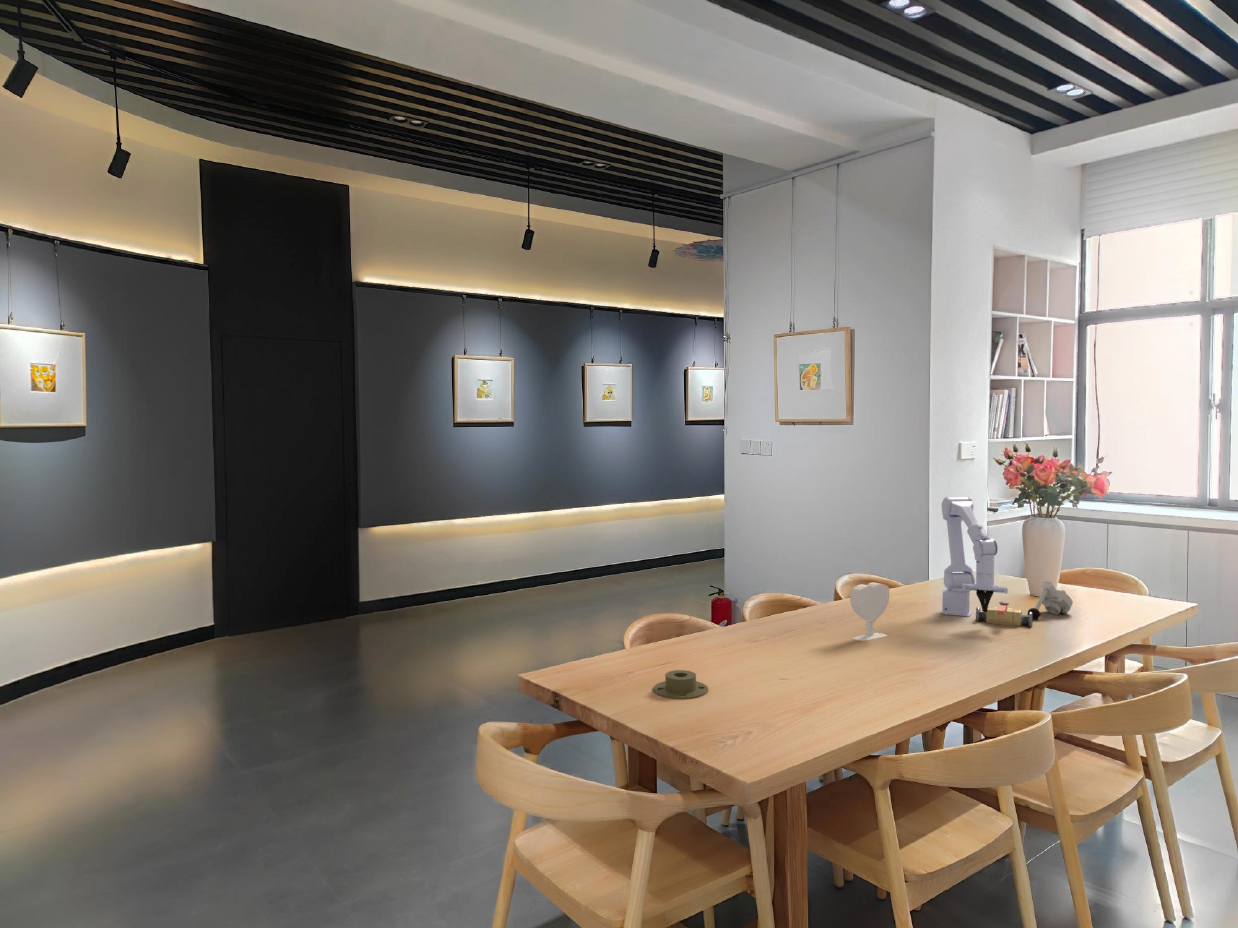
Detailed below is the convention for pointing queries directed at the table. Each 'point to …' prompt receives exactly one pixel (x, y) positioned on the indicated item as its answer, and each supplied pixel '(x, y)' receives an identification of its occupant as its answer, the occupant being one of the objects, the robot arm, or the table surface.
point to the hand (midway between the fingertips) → (984, 611)
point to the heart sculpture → (869, 606)
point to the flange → (680, 686)
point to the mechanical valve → (1052, 601)
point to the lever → (1002, 608)
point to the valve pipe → (1004, 617)
